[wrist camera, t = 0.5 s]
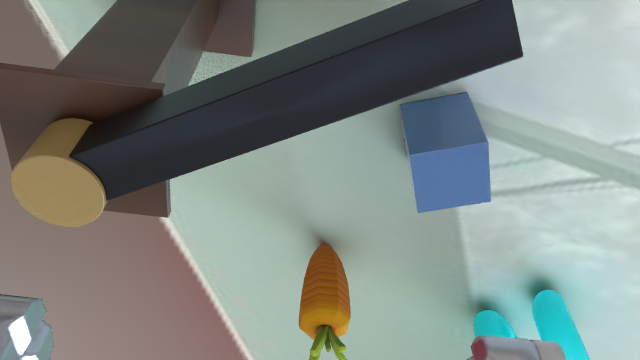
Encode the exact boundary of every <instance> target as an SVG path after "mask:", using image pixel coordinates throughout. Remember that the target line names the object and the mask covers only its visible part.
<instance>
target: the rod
mask: <svg viewBox="0 0 640 360" xmlns="http://www.w3.org/2000/svg"><path fill="white" fill-rule="evenodd" d="M521 57H523V51H522V47H521V42H520V37H519V32H518V27H517V22H516V18H515V13H514V8H513V3H512V0H408V1H406V2H403V3H401V4H398V5H395V6H393V7H390V8H388V9H385V10H383V11H380V12H378V13H375V14H372V15H370V16H367V17H365V18H362V19H360V20H357V21H354V22H352V23H349V24H347V25H344V26H342V27H339V28H337V29H334V30H331V31H329V32H326V33H324V34H321V35H319V36H316V37H313V38H311V39H308V40H306V41H303V42H301V43H298V44H296V45H293V46H290V47H288V48H285V49H283V50H280V51H278V52H275V53H272V54H270V55H267V56H265V57H262V58H260V59H257V60H255V61H252V62H249V63H247V64H244V65H242V66H239V67H237V68H234V69H231V70H229V71H226V72H224V73H221V74H219V75H216V76H214V77H211V78H208V79H206V80H203V81H201V82H198V83H196V84H193V85H190V86H188V87H185V88H183V89H180V90H178V91H175V92H172V93H170V94H167V95H165V96H162V97H160V98H157V99H155V100H152V101H149V102H147V103H144V104H142V105H139V106H137V107H134V108H131V109H129V110H126V111H124V112H121V113H119V114H116V115H114V116H111V117H108V118H106V119H103V120H101V121H98V122H96V123H93V122H90V121H87V120H83V119H76V118H67V119H61V120H58V121H55V122H53V123H51V124H50V125H48V126H47V127H46V128H45V129H44V131H43V132H42V133H41V134H40V136H39V137H38V138H37V140H36V141H35V142H34V143H33V145H32V146H31V147H30V148H29V150H28V151H27V152H26V153H25V155H24V156H23V157H22V158H21V160H20V161H19V162H18V164H17V165H16V166H15V168H14V169H13V171H12V174H11V187H12V190H13V193H14V195H15V197H16V199H17V200H18V202H19V203H20V204H21V205H22V206H23V207H24V208H25V209H26V210H27V211H28V212H30V213H31V214H33V215H34V216H36V217H37V218H39V219H41V220H43V221H46V222H48V223H51V224H54V225H59V226H66V227H76V226H82V225H85V224H88V223H90V222H92V221H93V220H95V219H96V218H97V217H99V215H100V214H101V213H102V211H103V209H104V207H105V205H106V203H107V201H109V200H111V199H114V198H117V197H120V196H123V195H126V194H129V193H132V192H135V191H137V190H140V189H143V188H146V187H149V186H152V185H155V184H158V183H161V182H163V181H166V180H169V179H172V178H175V177H178V176H181V175H184V174H187V173H189V172H192V171H195V170H198V169H201V168H204V167H207V166H210V165H213V164H215V163H218V162H221V161H224V160H227V159H230V158H233V157H236V156H239V155H241V154H244V153H247V152H250V151H253V150H256V149H259V148H262V147H264V146H267V145H270V144H273V143H276V142H279V141H282V140H285V139H288V138H290V137H293V136H296V135H299V134H302V133H305V132H308V131H311V130H314V129H316V128H319V127H322V126H325V125H328V124H331V123H334V122H337V121H340V120H342V119H345V118H348V117H351V116H354V115H357V114H360V113H363V112H366V111H368V110H371V109H374V108H377V107H380V106H383V105H386V104H389V103H392V102H394V101H397V100H400V99H403V98H406V97H409V96H412V95H415V94H418V93H420V92H423V91H426V90H429V89H432V88H435V87H438V86H441V85H444V84H446V83H449V82H452V81H455V80H458V79H461V78H464V77H467V76H469V75H472V74H475V73H478V72H481V71H484V70H487V69H490V68H493V67H495V66H498V65H501V64H504V63H507V62H510V61H513V60H516V59H519V58H521Z"/></svg>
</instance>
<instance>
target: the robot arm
mask: <svg viewBox="0 0 640 360" xmlns="http://www.w3.org/2000/svg"><path fill="white" fill-rule="evenodd" d="M45 313H46V307H45V304H44V302H43V299H38V298H28V297H20V296H11V295H2V294H0V360H50V358H51V354H52V349H53V332H52V328H51V326H50V325H49V324H47V323H46V322H45V321H44V320H42V319H43V317H44V315H45ZM471 349H472V354H473V356H472V357H470V358H469V359H467V360H567V359H566V357H565V354H564V352H563V350H562V347H561V346H560V345H559V344H558V343H557V342H552V341H540V340H528V339H523V338H509V337H495V336H481V335H479V336H478V337H476V338H475V339H474V341H473V343H472V346H471Z"/></svg>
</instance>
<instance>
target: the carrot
mask: <svg viewBox="0 0 640 360" xmlns="http://www.w3.org/2000/svg"><path fill="white" fill-rule="evenodd" d="M349 320H350V299H349V290H348V282H347V278H346V275H345V271H344V268H343V265H342V262H341V260H340V259H339V257H338V255H337V254H336V252H335V251H334V250H333V249H332V247H331V246H330V245H329V244H326V243H324V244H322V245H320V246H319V247H318V248H317V250H316V251H315V252H314V254H313V255H312V257H311V259H310V261H309V264H308V267H307V271H306V274H305V278H304V283H303V289H302V295H301V303H300V313H299V327H300V329H301V330H303V331H304V332H305V333H306V334H307V335H308V336H310V337H311V338H312V339H315V340H314V343H313V346H312V348H311V350H310V353H311V354H310V358H309V360H319V357H320V351H321V350H322V348H323V346H324V344H325V346H326V351H327V352H330V351H331V345H332V347H333V350H334V352H335V354H336V356H337V358H338V359H339V360H347V359H346V358H345V356H344V355H343V354H342V353H345V351H346V346H345V345H344V344H343V343H342V342H341V341H340V340H339V338H338V337H340V336H342V335H344V334H345V333H346V331H347V327H348V324H349ZM330 342H331V345H330Z"/></svg>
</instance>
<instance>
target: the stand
mask: <svg viewBox="0 0 640 360" xmlns="http://www.w3.org/2000/svg"><path fill="white" fill-rule="evenodd" d="M255 12H256V0H117V1H116V2H115V3H114V5H113V6H112V7H111V8H110V9H109V10H108V11H107V12H106V13H105V14H104V15H103V17H102V18H101V19H100V20H99V21H98V22H97V23H96V24H95V25H94V26H93V27H92V28H91V30H90V31H89V32H88V33H87V34H86V35H85V36H84V37H83V38H82V39H81V40H80V42H79V43H78V44H77V45H76V46H75V47H74V48H73V49H72V50H71V51H70V52H69V54H68V55H67V56H66V57H65V58H64V59H63V60H62V61H61V62H60V63H59V64H58V66H57V67H56V68H55V69H54V70H53V69H45V68H37V67H29V66H20V65H13V64H4V63H0V124H1V128H2V132H3V136H4V140H5V144H6V148H7V152H8V156H9V160H10V164H11V168H12V171H13V169H14V168H15V166H16V165H17V164H18V162H19V161H20V160H21V158H22V157H23V156H24V155H25V153H26V152H27V151H28V150H29V148H30V147H31V146H32V145H33V143H34V142H35V141H36V140H37V138H38V137H39V136H40V134H41V133H42V132H43V131H44V129H45V128H46V127H47V126H48V125H50V124H51V123H53V122H55V121H58V120H61V119H67V118H76V119H83V120H87V121H90V122H93V123H96V122H98V121H101V120H103V119H106V118H108V117H111V116H114V115H116V114H119V113H121V112H124V111H126V110H129V109H131V108H134V107H137V106H139V105H142V104H144V103H147V102H149V101H152V100H155V99H157V98H160V97H162V96H165V95H167V94H170V93H172V92H175V91H178V90H180V89H183V88H185V87H187V86H188V84H189V82H190V80H191V78H192V75H193V73H194V71H195V69H196V66H197V64H198V62H199V60H200V58H201V55H202V53H203V51H207V52H215V53H223V54H231V55H238V56H246V57H251V56H252V53H253V44H254V28H255ZM103 210H104V211H113V212H121V213H131V214H139V215H149V216H158V217H167V218H168V217H169V215H170V212H171V203H170V179H169V180H166V181H163V182H161V183H158V184H155V185H152V186H149V187H146V188H143V189H140V190H137V191H135V192H132V193H129V194H126V195H123V196H120V197H117V198H114V199H111V200H109V201H107V203H106V205H105V207H104V209H103Z"/></svg>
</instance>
